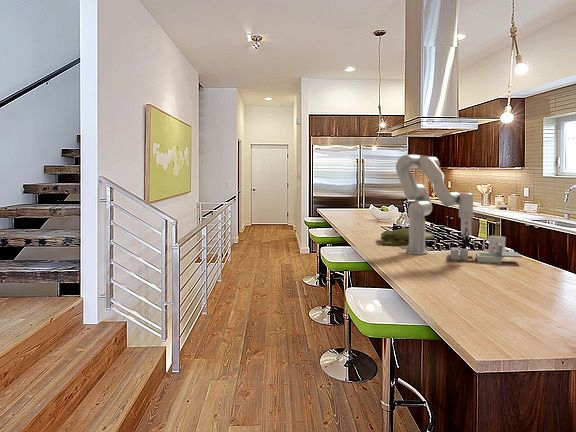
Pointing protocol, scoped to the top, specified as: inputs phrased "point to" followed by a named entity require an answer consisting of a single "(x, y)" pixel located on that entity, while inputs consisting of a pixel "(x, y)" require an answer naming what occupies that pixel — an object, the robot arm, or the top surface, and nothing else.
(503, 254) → the bin lid
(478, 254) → the bin
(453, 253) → the stone
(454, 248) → the stone
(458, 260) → the tray
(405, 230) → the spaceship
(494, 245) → the mug
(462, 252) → the stone
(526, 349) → the top surface
